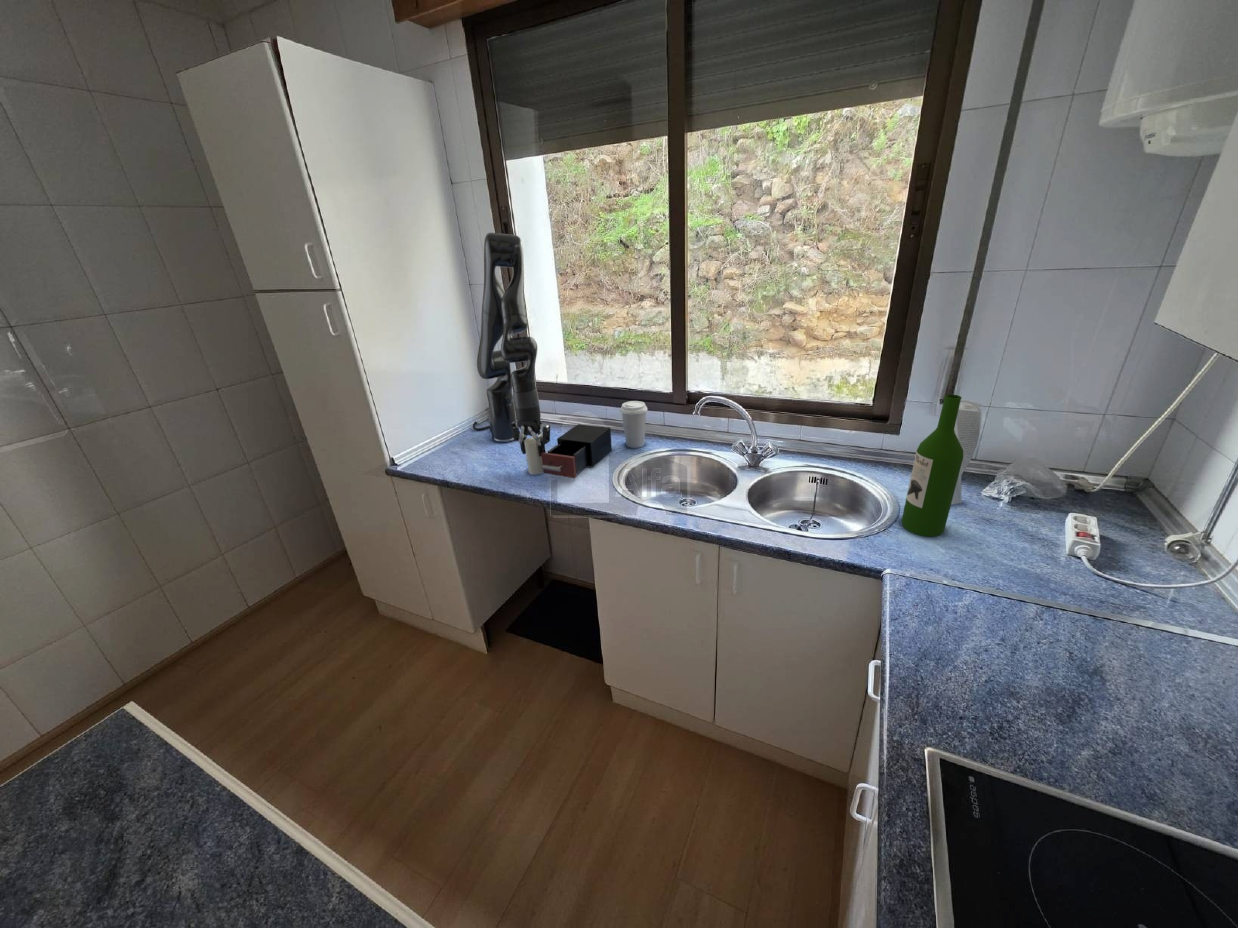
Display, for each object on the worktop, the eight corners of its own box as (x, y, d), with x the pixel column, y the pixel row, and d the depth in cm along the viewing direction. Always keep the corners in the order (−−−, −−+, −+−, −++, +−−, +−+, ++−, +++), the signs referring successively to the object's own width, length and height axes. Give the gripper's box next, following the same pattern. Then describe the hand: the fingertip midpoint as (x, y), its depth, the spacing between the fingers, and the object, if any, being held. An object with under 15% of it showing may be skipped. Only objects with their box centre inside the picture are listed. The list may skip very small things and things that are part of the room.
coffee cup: (617, 442, 177) (615, 403, 171) (641, 437, 180) (639, 398, 174) (629, 451, 169) (627, 410, 163) (653, 445, 172) (652, 405, 166)
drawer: (568, 484, 146) (565, 463, 143) (536, 478, 151) (533, 458, 148) (594, 461, 161) (593, 442, 158) (565, 456, 165) (563, 438, 163)
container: (525, 473, 157) (521, 442, 152) (534, 467, 161) (530, 436, 156) (538, 475, 155) (534, 443, 150) (547, 469, 159) (543, 438, 154)
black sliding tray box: (592, 467, 159) (590, 442, 155) (559, 462, 164) (556, 438, 160) (611, 450, 171) (610, 427, 167) (580, 446, 176) (578, 424, 172)
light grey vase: (941, 509, 124) (968, 403, 112) (919, 496, 130) (942, 395, 119) (968, 504, 125) (997, 399, 114) (945, 491, 132) (970, 391, 120)
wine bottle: (892, 521, 120) (918, 393, 107) (922, 514, 122) (952, 388, 108) (921, 539, 112) (953, 404, 99) (953, 533, 114) (989, 399, 101)
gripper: (553, 402, 149) (558, 452, 156) (514, 398, 155) (521, 447, 161) (539, 409, 143) (546, 461, 150) (500, 405, 148) (508, 456, 155)
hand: (533, 454), depth 156 cm, fingers open, 5 cm apart
